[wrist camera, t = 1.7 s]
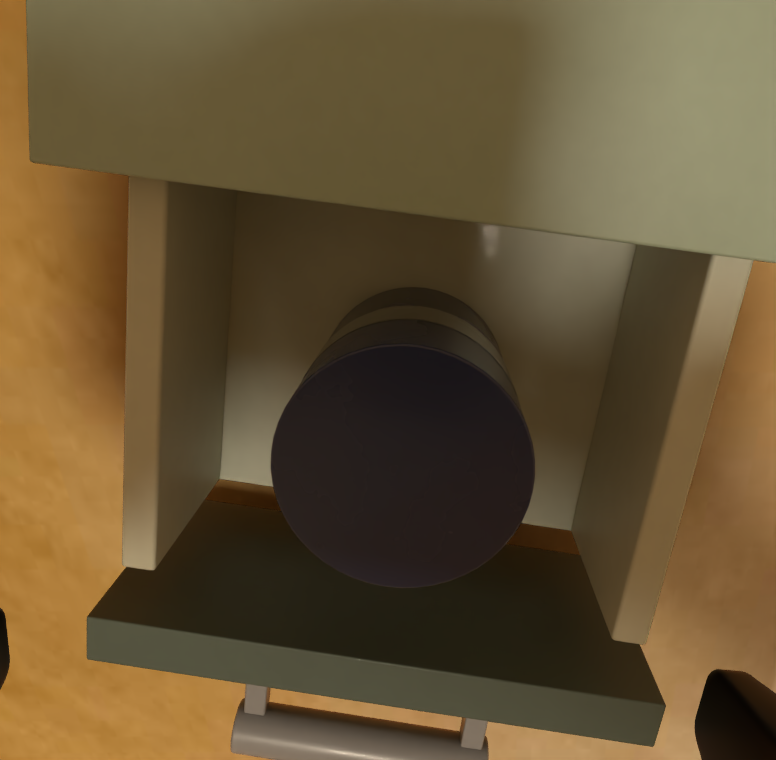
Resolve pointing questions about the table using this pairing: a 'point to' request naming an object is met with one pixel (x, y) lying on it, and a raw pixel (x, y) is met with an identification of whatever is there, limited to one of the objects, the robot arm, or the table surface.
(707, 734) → the robot arm
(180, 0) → the pale olive box
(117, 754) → the table surface
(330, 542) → the can
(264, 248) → the drawer
